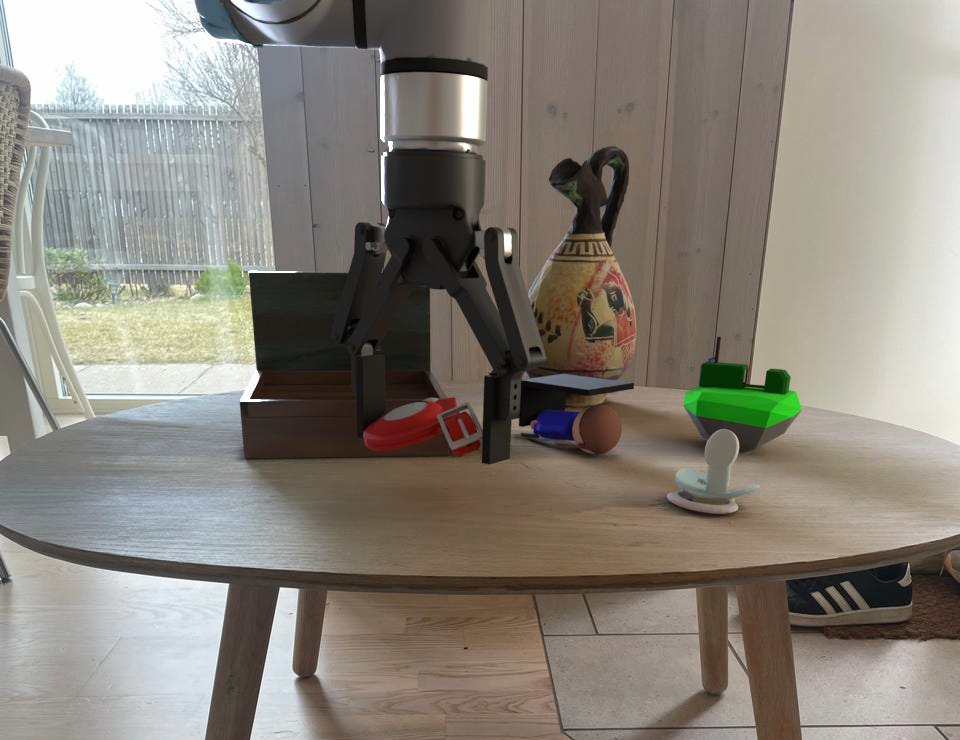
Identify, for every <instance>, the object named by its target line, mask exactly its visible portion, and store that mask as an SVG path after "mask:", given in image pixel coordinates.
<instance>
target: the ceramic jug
mask: <svg viewBox="0 0 960 740" xmlns="http://www.w3.org/2000/svg"><path fill="white" fill-rule="evenodd" d="M604 167H608V168H611V176H612V177H611V184H610V187H609V191H608V194H607V192H606V191H607V190H606V188H605V184H604V182H603V180H602V179H603V168H604ZM629 181H630V161H629V158H628V155H627V154H626V152H625V151H624V150H623V149H621V148H619V147H618V146H615V145H611V146H605V147H602V148H599V149H596V150H594V151H593V152H592V153H591V155H590V156H589V157H588V158H587V159H585V160H584V162H583V163H582V165H581V164H580V163H579V162H578V161H575V160H573V158H571V157H567V158H564V159H562V160H561V161H559V162H558V163H557V164H556V165H555V166H554V167H553V169H552V170H551V172H550V174H549V177H548V183H549V186H550V187H551V188H552V189H554V190H555V191H556V192H558V193H559V194H561V195H562V196H564V197H565V198H566V199H568V200H569V201H570V202H571V203H572V204H573V205H574V207H575V213H574V217H573V219H572V222H571V225H570V227H569V228H568V230H567V231H566V233H565V235H564V237H563V239H562V240H561V241H560V243H559V244H558V245H556V247H555V248H554V250H553V251H552V252H551V254H550V255H549V257H548V259H547V260H546V262H545V263H544V265H543V267H542V268H541V270H540V271H539V273H538V275H537V276H536V277H535V279H534V281H533V283H532V284H531V286H530V288H529V290H528V291H527V293H528V297H529V300H530V303H531V307H532V310H533V314H534V317H535V320H536V324H537V327H538V330H539V334H540V337H541V340H542V344H543V347H544V351H545V354H546V363H545V365H544V366H542V367H538V368H534V369H531V370H528V371H526V372H525V373H524V374H525V376H526V379H529V378H536V377H543V376H550V375H558V374H569V375H576V376H584V377H592V378H600V379H608V380H616V381H619V379H620V378H621V377H622V375H623V374H624V373H625V372H627V370H628V368H629V367H630V365H631V363H632V361H633V359H634V355H635V352H636V346H637V338H638V337H637V335H638V333H637V317H636V310H635V304H634V299H633V298H632V294H631V291H630V288H629V285H628V283H627V281H626V279H625V276H624V273H623V271H622V269H621V267H620V264H619V262H618V260H617V258H616V257H615V256H616V255H614V252H613V251H612V243H613V234H614V230H615V229H616V227H617V222H618V218H619V216H620V213H621V212H620V211H621V209H622V206H623V204H624V202H625V196H626V194H627V190H628V186H629ZM602 207H603V210H602V211H603V212H602V214H601V208H602ZM608 394H609V393H605V394H598V395H592V396H585V395H578V394H572V393H566V407H573V408H574V407H575V408H578V407H579V408H580V407H589V406H592V405H602V404H603V403H604V402H605V399H606V398H607V396H608Z"/></svg>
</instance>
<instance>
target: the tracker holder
mask: <svg viewBox="0 0 960 740" xmlns="http://www.w3.org/2000/svg"><path fill="white" fill-rule="evenodd" d="M465 410H468V412H469V413H468V412H467V411H465ZM482 432H483V427H482V426H481V423H480V421H479V419H478V417H477V414H476V413H475V410H474V408H473V406H472V404H471V402H469V401H467V402H465V403H462V404H460V405H458V402H457V397H455V396H454V397H453V396H452V397H447V398H444V399H438V398H427V399H425V400H423V401H416V402H411V403H407V404H404V405H401V406H398V407H396V408H394V409H392V410H390V411H388V412H387V413H385V414H384V415H383V416H382V417H381V418H380V419H378V420H377V421H375V422H373V423H372V424H370V425H369V426H368V427H367V428H366V429H365V431H364V433H363V437H364V440H365V444H366V446H367V447H368V448H369V449H372V450H377V451H386V450H395V449H399V448H404V447H407V446H411V445H415V444H418V443H421V442H423V441H426V440H428V439H430V438H433V437H434V436H437V435H439V434H442V433H443V434H445V437H446V439H447V442H448V444H449V450H450V452H451V453H452V455H453V456H454V457H455V458H460V457H463V456H467V455H469V454H471V453H473V452H477V451H479V450H480V449H481V447H482V444H481V440H482Z"/></svg>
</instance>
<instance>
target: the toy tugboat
mask: <svg viewBox="0 0 960 740" xmlns="http://www.w3.org/2000/svg"><path fill="white" fill-rule="evenodd" d="M721 342H722V336H716V345H715V351H714V352H715V353H714V356H713V357H708V359H707V361H705V362H703V363H702V364H701V365H700V372H699V380H698V386H697V387H694V388H692V389H690V390H688V391H686V392H685V394H684V399H683V406H682V407H684V409H685V411H686V413H687V414H688V416H689V417H690V419H691V421H692V423H693V424H694V426H695V428H696V429H697V432H698V433H699V434H700V436H701V437H703V438H704V439H705V440H706V441H708V440H709V438H710V437H711V435H712V434H714V433H715V432H716V431H718V430H721V429H727V430H730V431H732V432H733V433H734V434H735V435H736V437H737V439H738V441H739V452H742V453H744V452H748V451H752V450H755V449H758V448H760V447H762V446H763V445H765V444H767V443H769V442H771V441H774V440H776V439H777V438H779V437H781V436H783V435H784V434H785V433H787V431H788V429H789V428H790V426H791V425H792V424H794V423H793V422H794V421H795V420H796V419H797V418H798V416H799V415H800V414H801V412H802V411H803V407H802V404H801V402H800V399H799V395H798V393H797V391H796V390H790V384H791V379H792V377H791V376H790V374H789V373H788V371H787V370H786V369H781V368H770V369H768V370H766V372H765V380H764V385H763V384H762V385H761V384H752V383H751V384H750V383H747V382H748V377H749V376H748V375H749V368H750V367H749V365H748V364H745V363H735V362H723V361H720V362H719V358H720V349H721Z"/></svg>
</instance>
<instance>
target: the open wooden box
mask: <svg viewBox="0 0 960 740" xmlns="http://www.w3.org/2000/svg"><path fill="white" fill-rule="evenodd" d="M348 272H349V271H338V272H337V271H274V270H273V271H271V270H270V271H266V270H265V271H264V270H263V271H261V270H259V271H258V270H250V271H248V282H249V293H250V305H251V319H252V331H253V343H254V354H255V355H254V356H255V368H256V371H255V373H254V375H253V376H252V377H251V380H250V382H249V384H248V386H247V387H246V389H245V391H244V393H243V395H242V396H241V398H240V401H239V411H240V422H241V432H242V434H241V435H242V444H243V455H244V457H243V458H244V459H245V460H246V459H249V460H250V459H312V458H314V459H315V458H374V457H375V458H376V457H377V458H379V457H381V458H382V457H383V458H384V457H435V456H436V457H437V456H438V457H439V456H440V457H441V456H442V457H443V456H444V457H445V456H446V457H447V456H449V455H450V446H449V444H448V442H447V439H446V437H445V434H443V433H442V434H439V435H437V436H434V437H433V438H430V439H428V440H426V441H423V442H421V443H418V444H415V445H411V446H407V447H404V448H399V449H395V450H386V451H377V450H372V449H369V448H368V447H367V446H366V444H365V440H364V438H360V437H357V399H356V394H353V391H352V385H351V381H352V380H351V376H352V375H351V356H350V354H349V353H348V351H347V349H346V348H344V347H343V346H341V345H340V344H337V345H335V344H334V343H333V342H332V341H331V331H332V328H333V324H334V321H335V317H336V314H337V310H338V307H339V303H340V300H341V296H342V293H343V290H344V286H345V283H346V279H347V276H348ZM381 274H382V273H381ZM380 283H381V281H380V279H379V282H378V286H377V289H378V287H379V285H380ZM377 289H376V290H377ZM348 328H349V327H348ZM379 346H380V348H378V349H382V351H381V352H375V353H373V355H376V354H380V355H385V413H387V412H388V411H390V410H392V409H394V408H396V407H398V406H401V405H404V404H407V403H411V402H416V401H423V400H425V399H427V398H438V399H444V398H448V397H447V394H446V393H445V392H444V390H443V388H442V387H441V384H440V382H439V381H438V380H437V378H436V376H435V375H434V373H433V372H432V370H431V368H432V366H431V365H432V364H431V361H432V360H431V358H432V357H431V356H432V355H431V348H432V347H431V346H432V345H431V288H429V287H418V288H416V289H415V290H414V291H412V292H411V293H410V294H409V296H408V298H407V299H406V301H405V303H404V305H403V306H402V308H401V310H400V311H399V313H398V315H397V316H396V318H395V320H394V321H393V323H392V325H391V326H390V328H389V330H388V331H387V333H386V335H385V337H384V338H383V340H382V342H381V343H380V345H379Z"/></svg>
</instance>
